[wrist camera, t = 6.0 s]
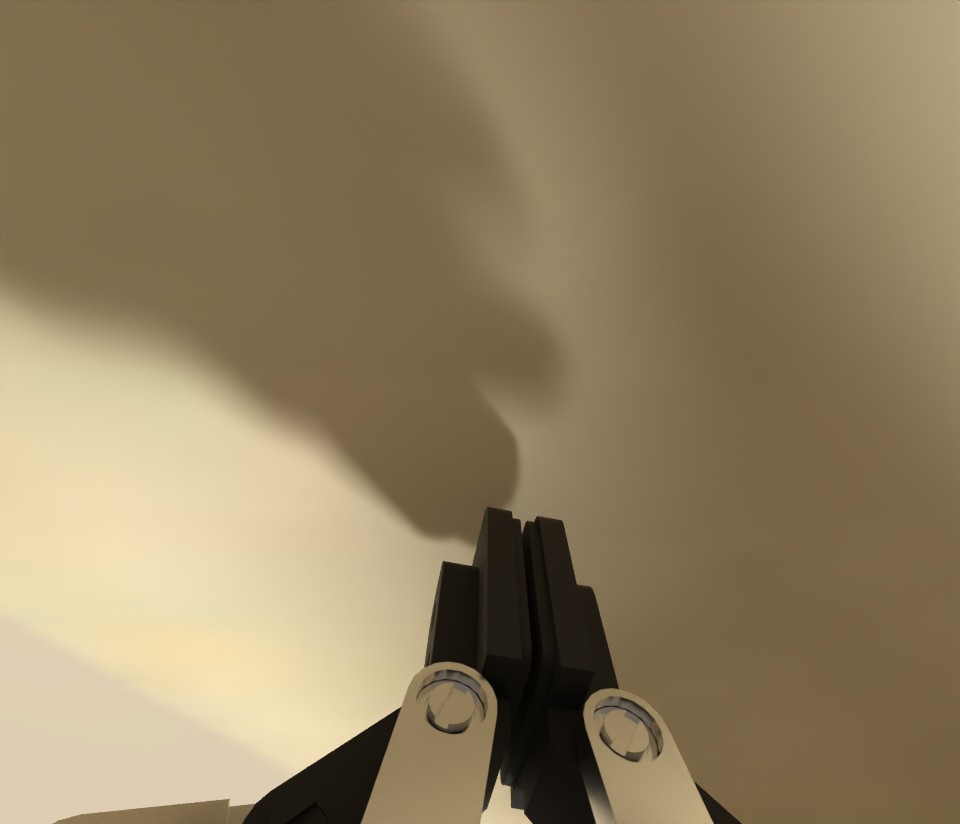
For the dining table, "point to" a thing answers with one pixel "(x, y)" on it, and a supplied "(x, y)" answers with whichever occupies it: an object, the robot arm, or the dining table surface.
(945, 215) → the dining table surface
